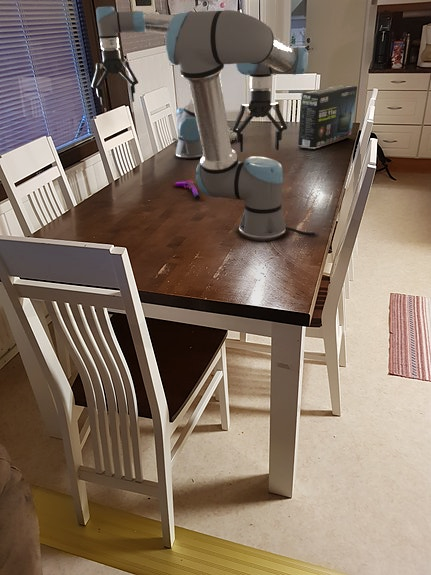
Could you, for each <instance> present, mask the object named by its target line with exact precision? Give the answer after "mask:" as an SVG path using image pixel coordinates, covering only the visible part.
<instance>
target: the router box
mask: <svg viewBox="0 0 431 575" xmlns="http://www.w3.org/2000/svg"><path fill="white" fill-rule="evenodd" d="M357 93H358V86H356V85H350V84H339V85H338V84H337V85H334V86H328V87H324V88H318V89H314V90H309V91H304V92H301V93H300V109H299V110H300V111H299V124H298V137H297V146H298V145H302V146H307V147H317V146H320V145H323V144H325V143H328V142H331V141H333V140H336V139H338V138H341V137H344V136H347V135H351V136H352V133H353V132H352V131H353V125H354V115H355V109H356V99H357ZM311 151H313V150H312V149H311Z"/></svg>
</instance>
